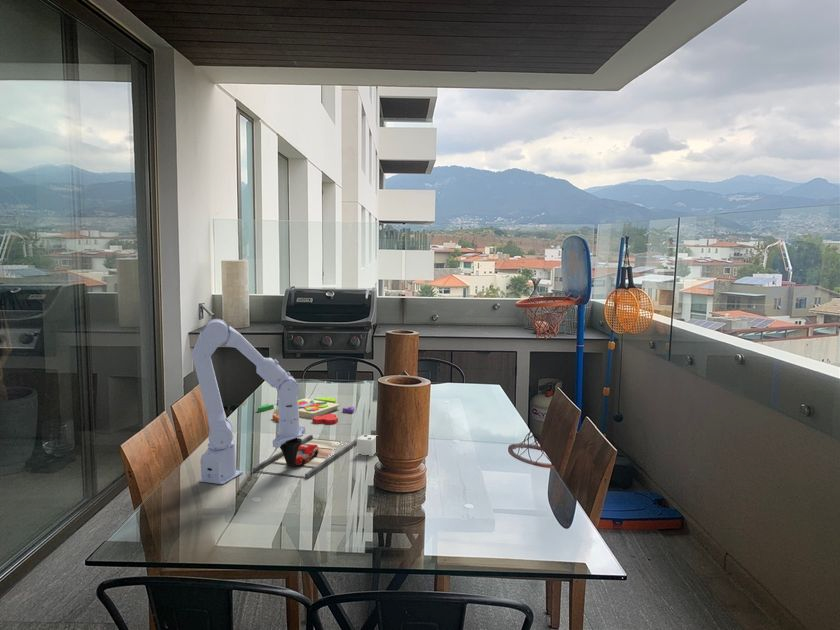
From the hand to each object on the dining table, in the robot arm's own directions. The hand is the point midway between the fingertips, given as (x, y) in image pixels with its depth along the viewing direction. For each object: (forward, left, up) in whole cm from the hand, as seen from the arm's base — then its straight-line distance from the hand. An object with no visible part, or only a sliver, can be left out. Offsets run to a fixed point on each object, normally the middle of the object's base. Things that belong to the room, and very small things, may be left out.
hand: (290, 464), depth 181 cm
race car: (+7, 0, -1) cm, 7 cm away
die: (+19, -16, -1) cm, 25 cm away
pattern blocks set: (+59, +28, -2) cm, 65 cm away
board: (+11, 0, -1) cm, 11 cm away
